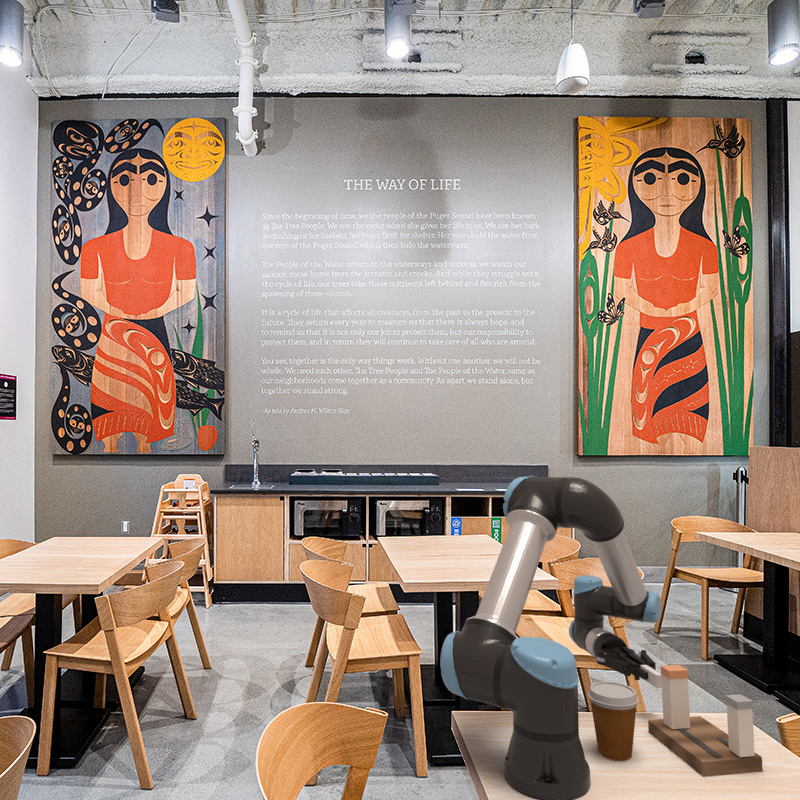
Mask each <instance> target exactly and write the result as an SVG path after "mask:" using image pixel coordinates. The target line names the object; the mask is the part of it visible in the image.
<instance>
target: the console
mask: <svg viewBox="0 0 800 800" xmlns="http://www.w3.org/2000/svg"><path fill="white" fill-rule="evenodd" d="M647 724H648V725H647V726H648V733H649V734H650V735H651V736H652V735H653V736H652V737H654V739H656V740H657V741H658V742H660V743H661V744H662V745H664V747H666V748H667V749H668V750H670V751H671V752H672V753H673V754H674V755H676V756H677V757H678V758H680V759H681V760H682V761H683V762H685V764H687V765H688V766H689V767H691V768H692V769H693V770H694V771H695V772H697V773H698V774H699V775H701V776H702V777H714V776H723V775H725V776H727V775H734V774H735V775H736V774H745V773H747V774H748V773H757V772H764V771H763V756H761V755H760V754H758V753H757V752H755V756H748V757H739V756H738V755H736V754H735V753H733V752H732V751H730V750H729V740H728V733H726V732H725V731H723V730H722V729H720V727H719V728H718V727H717V726H716V725H714V724H713V723H711V722H710V721H708V720H706V719H705V718H704V717H702V716H700V715H697V716H690V728H682V729H671V728H670V727H668V726H667V725H666V724H664V723H663V718H657V719H648V720H647Z"/></svg>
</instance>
